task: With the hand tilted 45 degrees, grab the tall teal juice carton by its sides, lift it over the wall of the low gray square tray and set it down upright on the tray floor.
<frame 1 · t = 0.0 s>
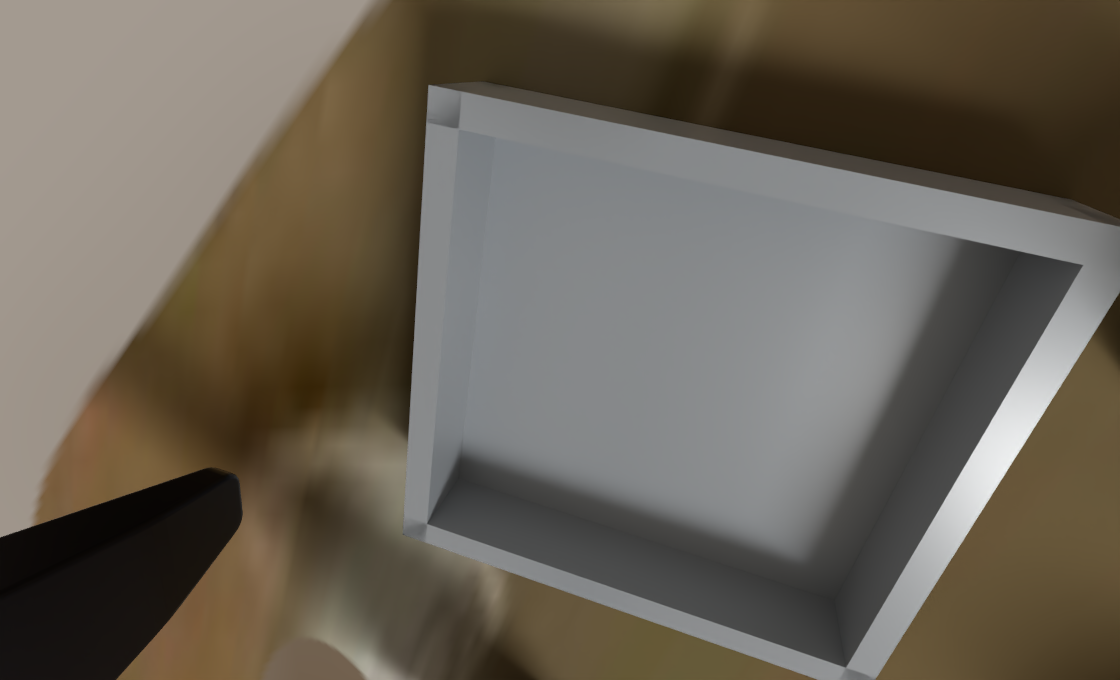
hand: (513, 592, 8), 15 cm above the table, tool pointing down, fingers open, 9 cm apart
gray square tray: (683, 370, 22), on the table
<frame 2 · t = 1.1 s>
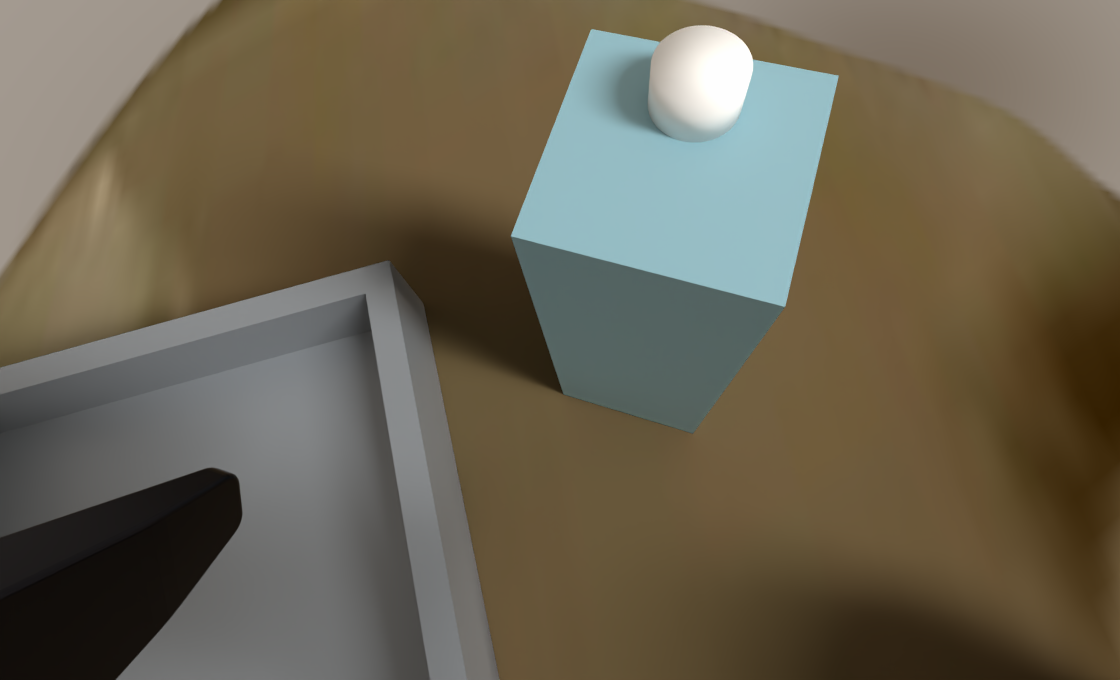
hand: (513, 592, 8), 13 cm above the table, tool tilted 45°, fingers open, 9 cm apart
gray square tray: (225, 579, 22), on the table
carton: (645, 352, 23), on the table
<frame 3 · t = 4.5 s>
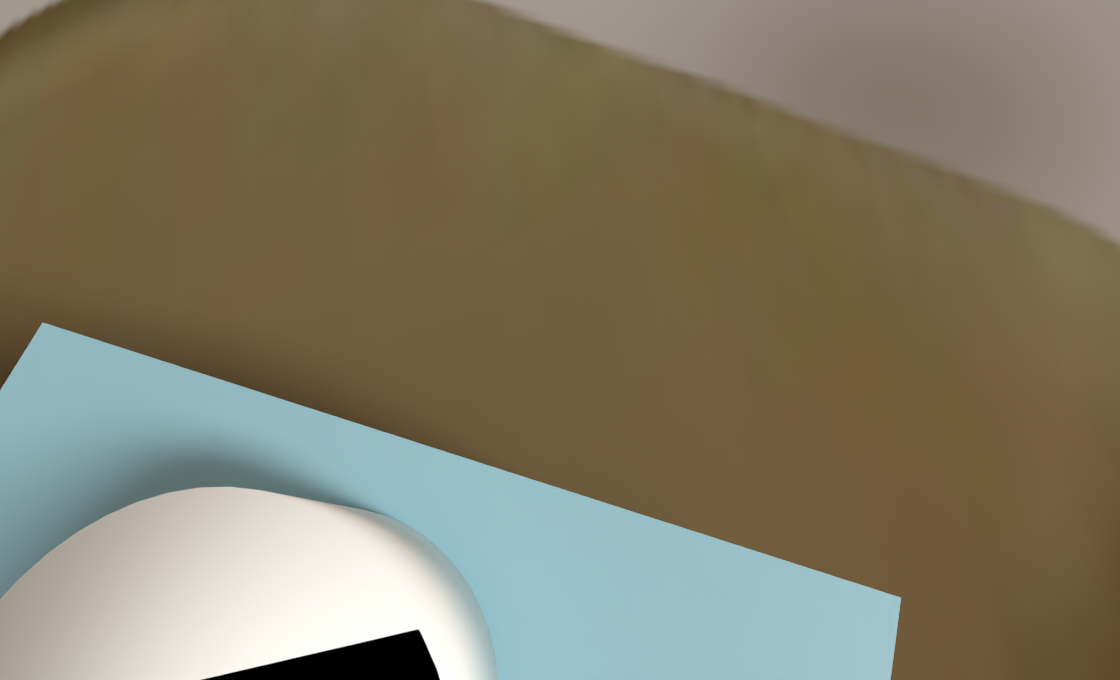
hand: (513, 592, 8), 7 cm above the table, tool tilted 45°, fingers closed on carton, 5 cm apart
carton: (536, 637, 14), on the table, touching gripper
when the fingers open (9 cm above the table, at t = 11.9 s): carton drops 1 cm, resting on gray square tray.
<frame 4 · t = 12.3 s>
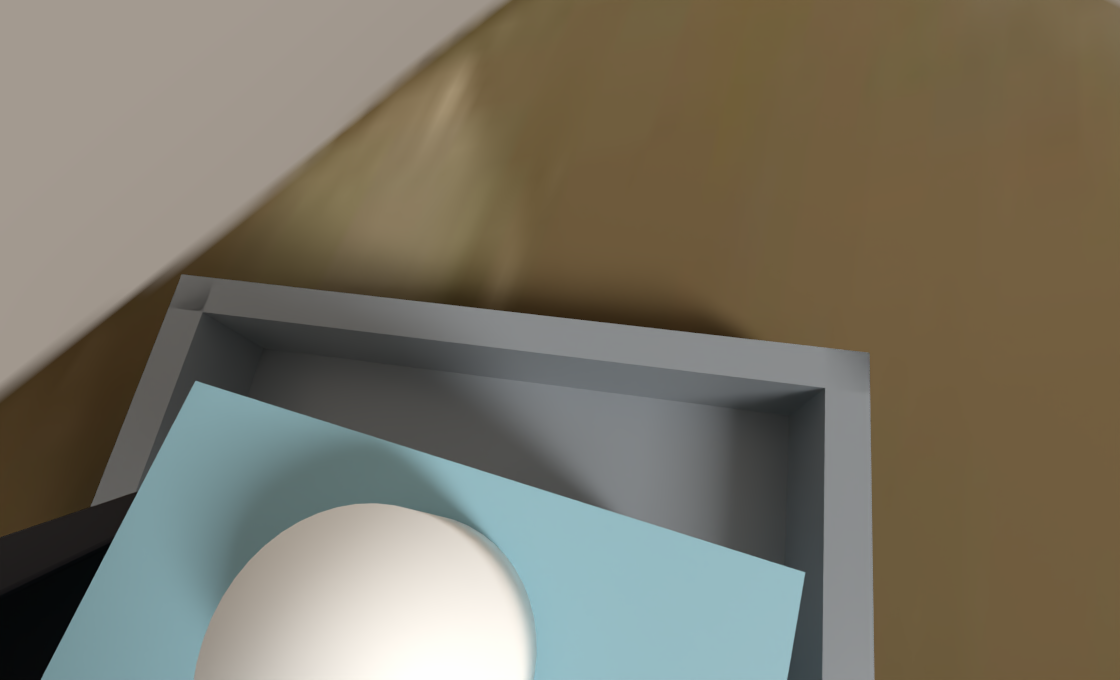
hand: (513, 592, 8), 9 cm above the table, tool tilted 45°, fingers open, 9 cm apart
gray square tray: (468, 652, 16), on the table
carton: (542, 628, 16), point 1 cm above the table, touching gray square tray
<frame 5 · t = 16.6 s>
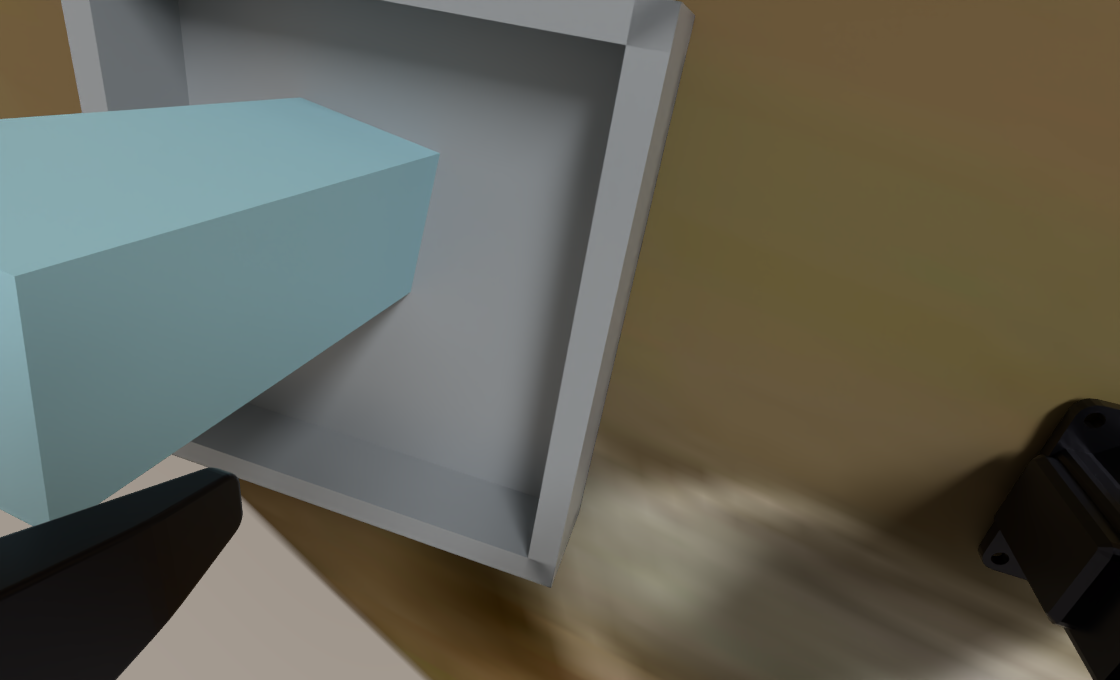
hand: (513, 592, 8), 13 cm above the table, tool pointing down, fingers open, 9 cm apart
gray square tray: (398, 253, 22), on the table
carton: (358, 199, 20), point 1 cm above the table, touching gray square tray
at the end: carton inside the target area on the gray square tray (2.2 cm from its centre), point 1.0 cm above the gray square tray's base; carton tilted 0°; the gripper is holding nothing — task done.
